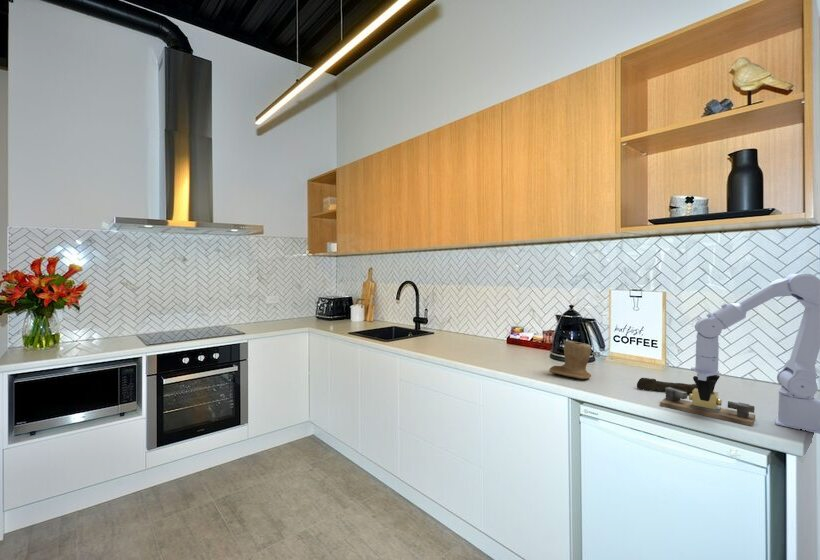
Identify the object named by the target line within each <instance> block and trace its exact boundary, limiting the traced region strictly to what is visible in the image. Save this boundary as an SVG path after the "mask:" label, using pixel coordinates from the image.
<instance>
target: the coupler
mask: <svg viewBox="0 0 820 560" xmlns="http://www.w3.org/2000/svg"><path fill="white" fill-rule="evenodd" d="M688 396H689V397H688V399H689V401H691V402H692V405H695V406H700V407H705V408H710V409H715V410H716V409H717V407H721V406H722V404H723V401H722V399H721V398H719V392H717V391H711V395H710V399H709V401H704V400H700V397H699V393H698V389H696V388H695V389H694V390H693V391H692V394H691V393H690V394H688Z"/></svg>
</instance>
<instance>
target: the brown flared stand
mask: <svg viewBox="0 0 820 560" xmlns="http://www.w3.org/2000/svg"><path fill="white" fill-rule="evenodd" d="M591 353H592V347H591V345H590V344H588V343H584V342H578V341H574V340H566V342H565V343H564V345H563V356H564V364H562V365H553V366H551V367H550V368H549V370H548V371H549V373H552V374H555V375H559V376H564V377H568V378H574V379H579V380H580V379H583V380H586V379H590V378H591V377H592V374H591V373H590V372H588V371H587V364H588V363H589V360H590V357H591Z"/></svg>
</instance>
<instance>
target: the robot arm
mask: <svg viewBox="0 0 820 560" xmlns="http://www.w3.org/2000/svg"><path fill="white" fill-rule="evenodd" d="M790 296H791V297H793V298H795V299H796V300H797V301H798V302H799V303H800V304H801V305H802V306H803V307H804V310H803V314H802V316H801V321H800V324H799V327H798V331H797V335H796V337H795V341H794V344H793V348H792V351H791V354H790V357H789V360H788V361H786V362H785V364H784V367H783V368H781V369H782V370H780V371H779V372H778V373H777V376H776V380H777V382H778V384H779V385H780V386H781V387H780V389H779V390H778V408H777V409H778V410H777V411H778V412H777V413H778V414H777V416H776V419H775V423H774V424H775V425H778V426H781V427H785V428H786V427H787V428H791V429H797V430H800V429H802V430H801V431H805V430H806V432H810V433H813V434H814V433H815V434H819V435H820V398H817V397H815V394H816V393H817V392H818V383H817V375H818V374H817V369H816V362H817V359H818V356H819V352H820V278H819V277H817V276H816V275H814V274H811V273H796V272H794V273H793V272H792V273H788V274H786V275H784V276H783V277H781V278H777V279H775V280H773V281H772V282H770V283H768V284H766V285H765V286H763V287H762V288H760V289H759V290H757V291H755V292H754V293H751V295H749V296H747V297H746V298H744V299H742V300H741V301H740V302H738V303H735V302H729V303H723V304H721V307H720V308H719V309H717V310H716V311H713V312H711V313H707V314H706V315H705V316H707V317H701V318H699V319H697V321H696V323H695V324H694V328H695V329H694V330H695V331H696V341H695V367H691V368H690V370H691V371H693V372H695V373H696V376H695V375H693V377H692V379H693V381H694V384H696V386H697V388H698V393H699V397H700V400H704V401H709V399H710V395H711V391H713V392H715V391H714V390H715V387H716V383H717V382H718V381H719V379H720V375H719V374H720V371H719V359H720V358H719V357H720V356H719V354H720V353H719V352H720V351H719V350H720V343H719V336H720V335H721V333H722V331H723V330H727V329H728V328H729V327H732V326H734V325H735V324H737V323H739V322H740V321H742V320H744V319H746V316H747V313H748V312H750V310H753V309H754V308H757V307H759V306H761V305H762V304H764V303H767V302H768V301H771V300H773V299H774V298H777V297H790Z"/></svg>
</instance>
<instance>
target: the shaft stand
mask: <svg viewBox="0 0 820 560" xmlns="http://www.w3.org/2000/svg"><path fill="white" fill-rule="evenodd" d="M664 392H665V397H664V398H663V399H662V400H661V401H659V406H660V405H661V406H660V407H664V406H665V407H666V408H669V409H673V410H678V411H683V412H688V413H692V414H697V415H699V416H700V415H701V416H706V417H710V418H714V419H719V420H722V421H727V422H732V423H737V424H742V425H746V426H751V427H753V425H754V423H755V421H756V414H755V408H756V407H755V405H751V404H749V403H744V402H736V401H735V402H734V401H727V408H724V407H721V406H718V407H717V409H716V410H715V409H710V408H705V407H700V406H695V405H692V401H691V400H689V401H688V400H687V399H688V394H687V392H684V391H681V390H678V389H674V388H671V387H668V388H665V391H664Z"/></svg>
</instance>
